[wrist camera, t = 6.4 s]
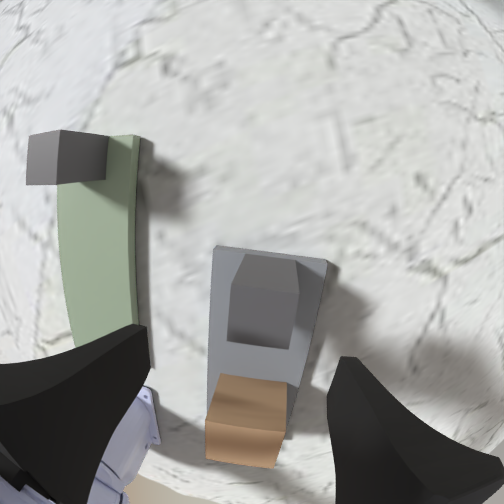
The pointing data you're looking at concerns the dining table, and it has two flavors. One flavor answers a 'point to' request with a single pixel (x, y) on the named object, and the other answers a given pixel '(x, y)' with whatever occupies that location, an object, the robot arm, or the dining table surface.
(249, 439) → the walnut block
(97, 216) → the olive strip
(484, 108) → the dining table surface
